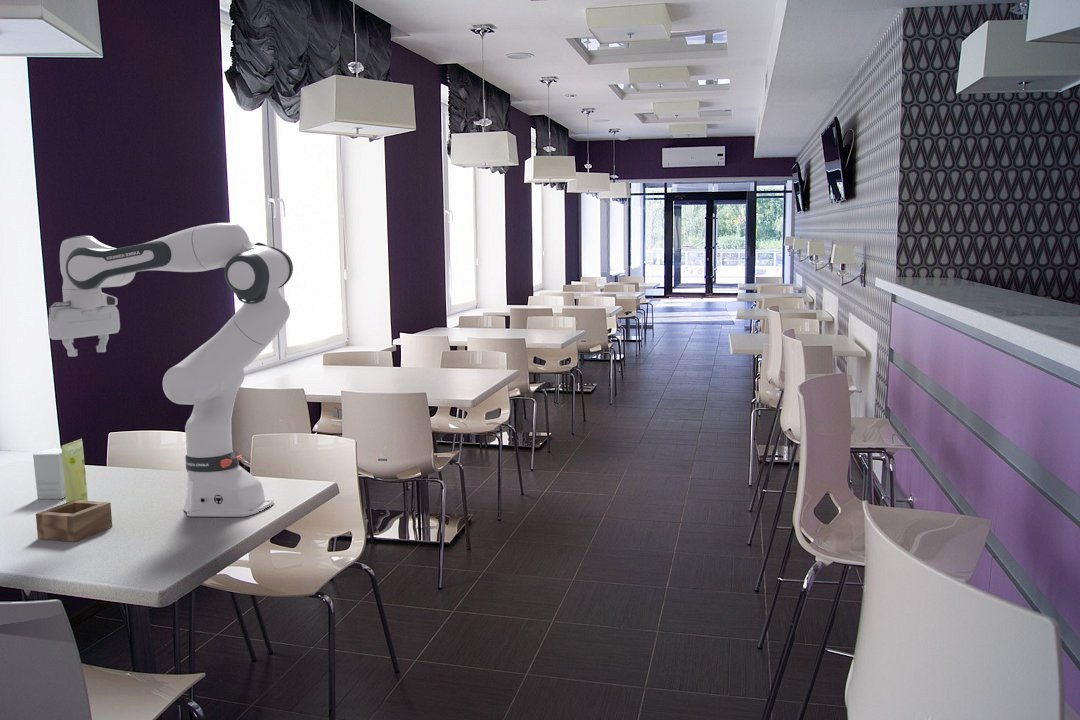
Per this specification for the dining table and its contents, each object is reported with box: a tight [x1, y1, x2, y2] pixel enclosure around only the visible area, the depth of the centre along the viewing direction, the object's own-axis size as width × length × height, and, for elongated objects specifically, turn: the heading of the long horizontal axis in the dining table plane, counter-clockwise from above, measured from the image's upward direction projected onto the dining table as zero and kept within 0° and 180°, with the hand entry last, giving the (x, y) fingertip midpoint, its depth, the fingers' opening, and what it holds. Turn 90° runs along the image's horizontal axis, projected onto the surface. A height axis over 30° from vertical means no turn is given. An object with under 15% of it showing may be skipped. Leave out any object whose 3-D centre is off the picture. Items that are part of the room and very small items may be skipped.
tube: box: [61, 438, 89, 503], centre depth 217 cm, size 6×5×20 cm
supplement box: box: [32, 448, 66, 500], centre depth 239 cm, size 7×7×13 cm
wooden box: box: [35, 500, 113, 543], centre depth 206 cm, size 11×12×6 cm
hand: (87, 354), depth 223 cm, fingers open, 8 cm apart
